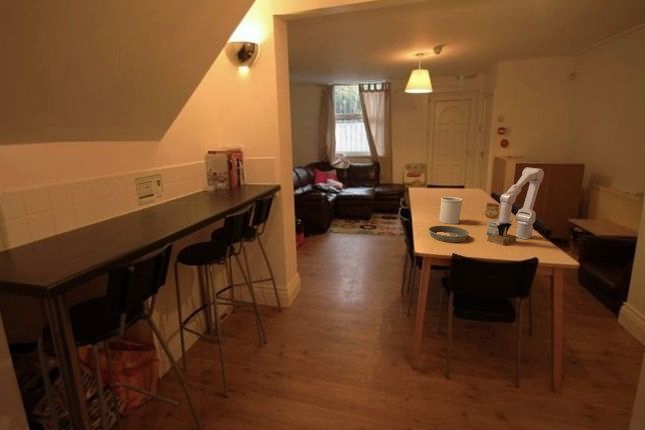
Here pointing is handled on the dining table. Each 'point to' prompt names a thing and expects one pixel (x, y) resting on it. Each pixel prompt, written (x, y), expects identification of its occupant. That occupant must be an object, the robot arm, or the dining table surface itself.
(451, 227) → the cake pan
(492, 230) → the medicine box
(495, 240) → the hole block
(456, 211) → the utensil holder
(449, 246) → the dining table surface
